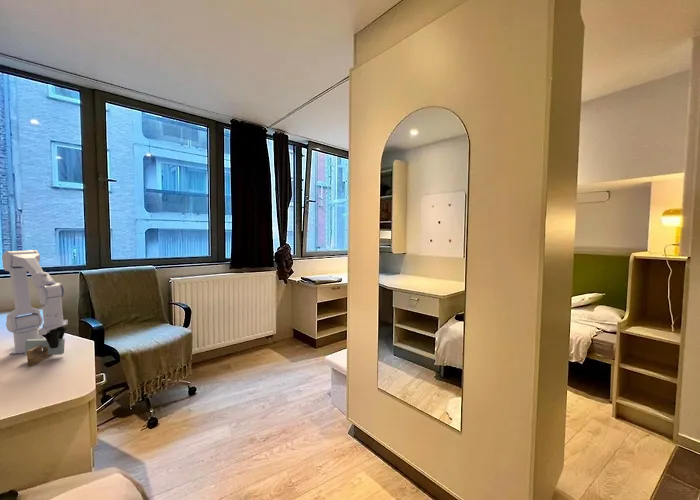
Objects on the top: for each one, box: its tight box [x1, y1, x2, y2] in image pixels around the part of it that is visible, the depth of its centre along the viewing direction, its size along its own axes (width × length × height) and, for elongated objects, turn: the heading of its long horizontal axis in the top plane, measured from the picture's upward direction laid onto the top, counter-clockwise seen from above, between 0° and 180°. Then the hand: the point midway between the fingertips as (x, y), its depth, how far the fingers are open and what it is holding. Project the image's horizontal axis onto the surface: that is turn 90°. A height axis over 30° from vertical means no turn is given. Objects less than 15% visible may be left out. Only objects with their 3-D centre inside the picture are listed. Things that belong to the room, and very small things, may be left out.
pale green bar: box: [24, 338, 66, 357], centre depth 123 cm, size 2×12×6 cm, turn 106°
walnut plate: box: [26, 346, 52, 367], centre depth 123 cm, size 14×2×6 cm, turn 16°
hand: (56, 346), depth 124 cm, fingers closed on pale green bar, 2 cm apart
